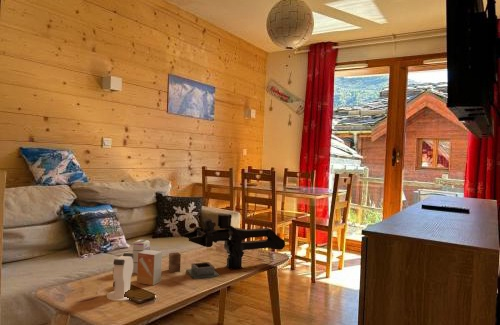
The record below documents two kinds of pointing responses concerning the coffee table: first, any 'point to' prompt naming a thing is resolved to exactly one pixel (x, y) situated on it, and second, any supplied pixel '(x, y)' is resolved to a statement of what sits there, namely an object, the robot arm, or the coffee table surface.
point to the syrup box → (137, 248)
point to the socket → (202, 270)
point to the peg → (174, 262)
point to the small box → (149, 267)
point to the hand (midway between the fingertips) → (185, 237)
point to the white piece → (121, 277)
